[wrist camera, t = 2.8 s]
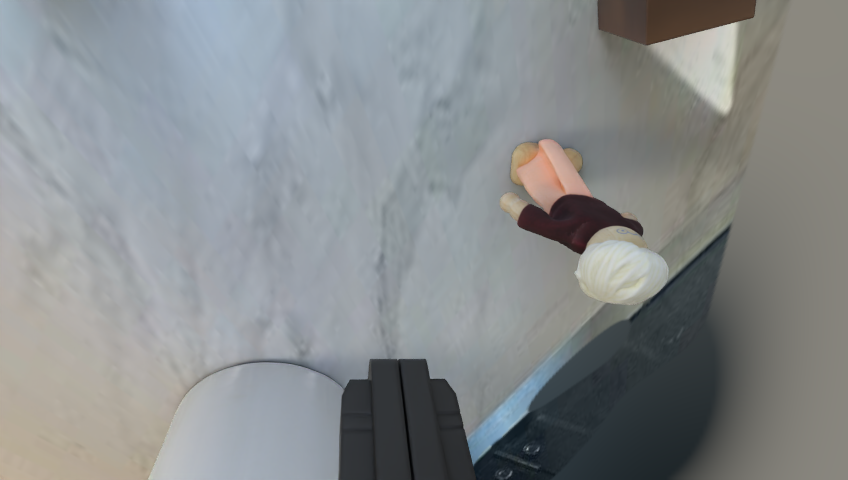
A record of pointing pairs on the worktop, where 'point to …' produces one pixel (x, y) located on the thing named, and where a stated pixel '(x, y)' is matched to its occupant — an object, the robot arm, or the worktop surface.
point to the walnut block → (668, 17)
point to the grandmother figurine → (583, 225)
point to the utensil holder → (255, 427)
